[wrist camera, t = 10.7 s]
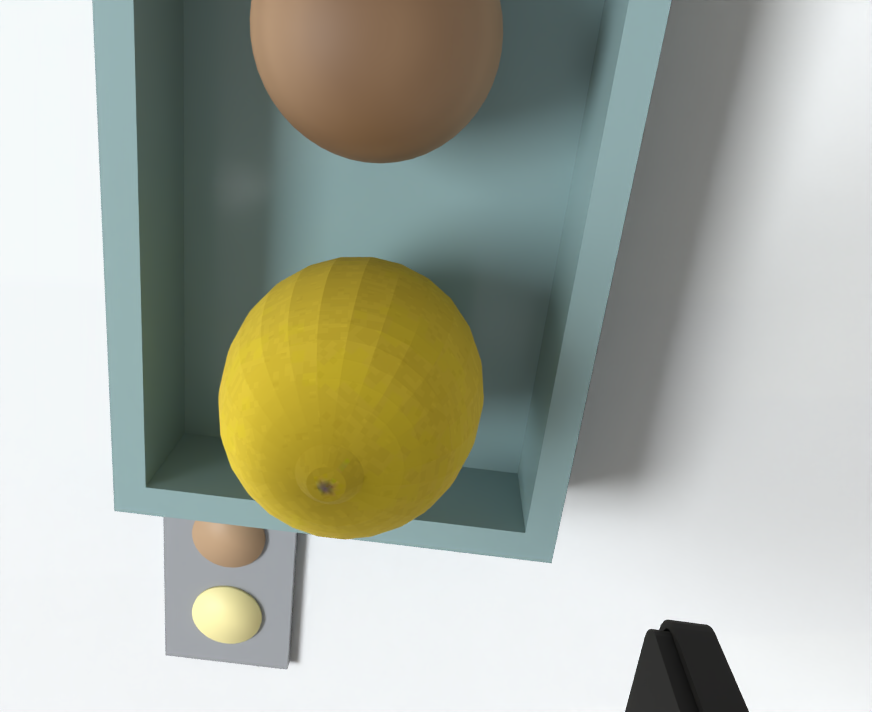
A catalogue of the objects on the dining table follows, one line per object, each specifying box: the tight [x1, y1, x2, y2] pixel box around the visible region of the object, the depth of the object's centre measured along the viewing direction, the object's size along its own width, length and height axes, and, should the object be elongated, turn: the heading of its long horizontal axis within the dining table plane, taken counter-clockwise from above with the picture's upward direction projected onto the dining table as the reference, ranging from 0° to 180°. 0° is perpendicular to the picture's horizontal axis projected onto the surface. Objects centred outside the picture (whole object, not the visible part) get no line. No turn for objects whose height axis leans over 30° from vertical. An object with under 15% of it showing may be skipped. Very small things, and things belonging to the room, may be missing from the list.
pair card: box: [164, 517, 297, 669], centre depth 24 cm, size 4×7×1 cm, turn 173°
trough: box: [92, 0, 672, 563], centre depth 18 cm, size 11×16×4 cm
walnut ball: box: [250, 0, 503, 163], centre depth 15 cm, size 5×5×5 cm
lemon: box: [218, 257, 484, 539], centre depth 17 cm, size 6×6×8 cm
